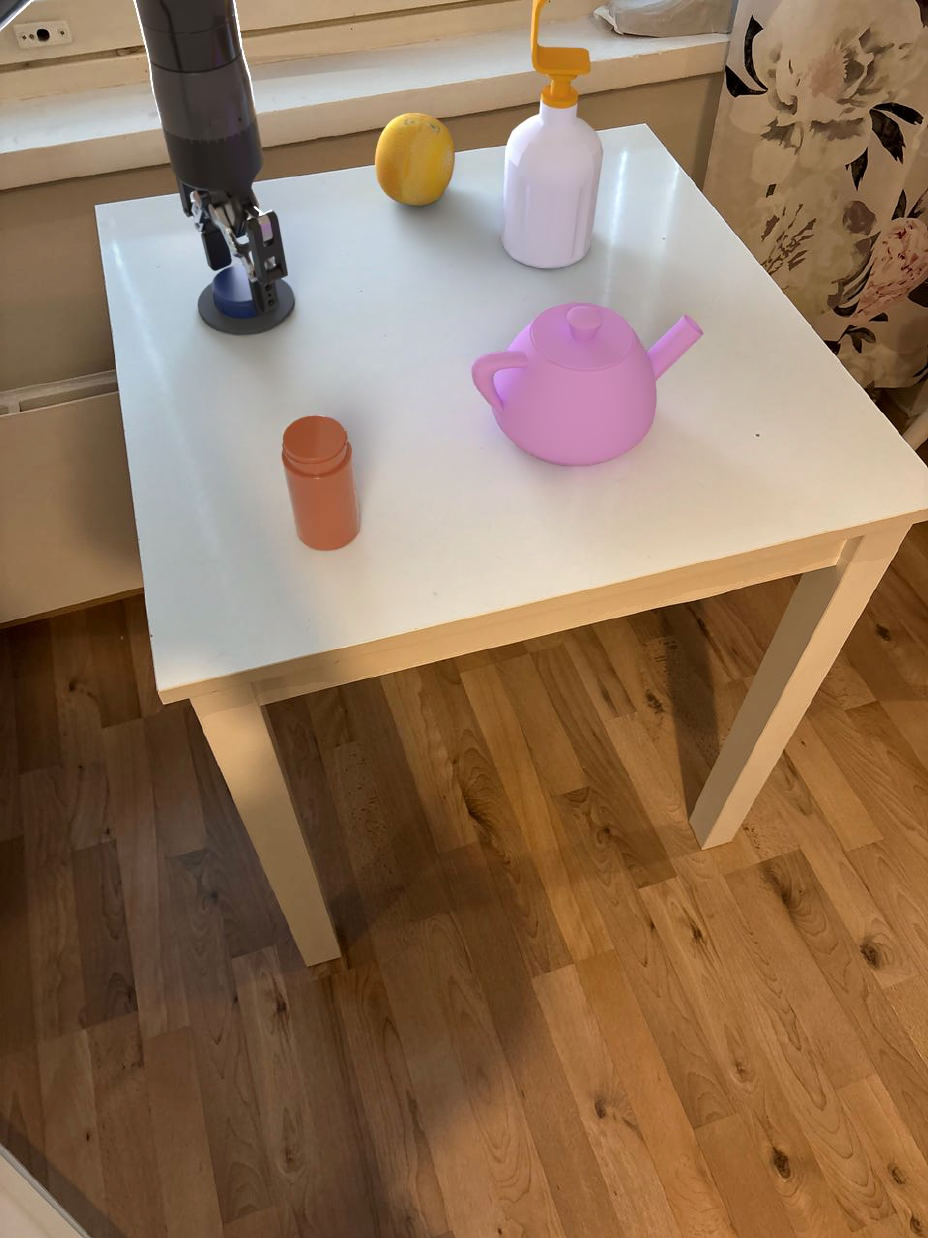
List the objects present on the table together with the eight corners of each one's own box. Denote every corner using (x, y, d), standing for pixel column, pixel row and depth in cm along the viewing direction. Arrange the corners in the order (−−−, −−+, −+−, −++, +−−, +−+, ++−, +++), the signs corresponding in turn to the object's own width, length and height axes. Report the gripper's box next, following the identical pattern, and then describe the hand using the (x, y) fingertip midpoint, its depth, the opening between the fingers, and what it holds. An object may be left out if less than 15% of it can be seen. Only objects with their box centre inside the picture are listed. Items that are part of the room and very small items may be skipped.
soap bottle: (593, 271, 94) (633, -6, 73) (501, 269, 94) (516, -9, 73) (587, 219, 99) (624, -54, 79) (500, 217, 99) (514, -57, 79)
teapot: (720, 445, 80) (753, 342, 71) (498, 500, 76) (504, 399, 67) (649, 343, 87) (672, 239, 79) (443, 389, 83) (443, 285, 75)
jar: (299, 555, 73) (281, 466, 65) (292, 507, 75) (274, 416, 68) (364, 545, 73) (354, 456, 65) (355, 498, 76) (344, 407, 68)
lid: (274, 279, 91) (271, 261, 90) (276, 316, 88) (273, 298, 87) (215, 283, 91) (211, 266, 89) (215, 321, 88) (211, 303, 86)
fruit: (453, 221, 98) (453, 145, 92) (375, 219, 98) (369, 143, 92) (455, 174, 103) (455, 99, 97) (381, 172, 103) (376, 97, 97)
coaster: (198, 339, 87) (196, 334, 86) (199, 279, 92) (198, 274, 92) (296, 330, 88) (296, 326, 87) (292, 271, 93) (292, 267, 92)
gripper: (296, 134, 73) (319, 311, 87) (204, 62, 80) (239, 237, 93) (211, 166, 70) (248, 343, 84) (122, 88, 77) (170, 265, 90)
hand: (243, 287), depth 88 cm, fingers open, 8 cm apart
